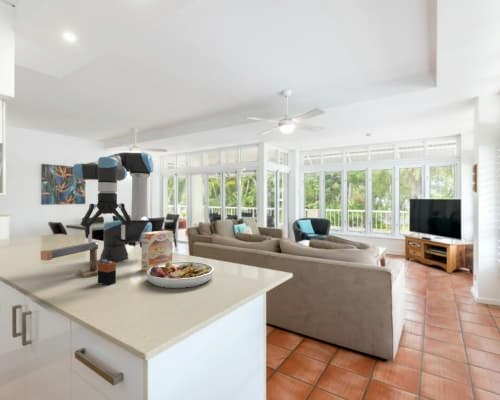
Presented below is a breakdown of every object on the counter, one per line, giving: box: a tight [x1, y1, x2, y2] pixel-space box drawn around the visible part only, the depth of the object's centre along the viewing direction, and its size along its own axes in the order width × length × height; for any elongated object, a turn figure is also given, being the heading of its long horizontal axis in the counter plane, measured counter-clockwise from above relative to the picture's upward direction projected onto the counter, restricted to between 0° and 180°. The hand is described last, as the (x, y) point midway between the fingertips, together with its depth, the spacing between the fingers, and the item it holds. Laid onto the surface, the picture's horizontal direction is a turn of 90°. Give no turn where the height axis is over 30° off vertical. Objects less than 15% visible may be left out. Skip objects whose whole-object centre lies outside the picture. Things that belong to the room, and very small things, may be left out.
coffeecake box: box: [140, 230, 174, 272], centre depth 148 cm, size 15×7×20 cm, turn 143°
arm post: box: [78, 249, 98, 279], centre depth 136 cm, size 10×10×12 cm
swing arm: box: [40, 241, 99, 261], centre depth 125 cm, size 4×26×4 cm, turn 164°
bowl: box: [146, 261, 215, 289], centre depth 129 cm, size 30×30×8 cm
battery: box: [97, 260, 117, 286], centre depth 122 cm, size 4×7×10 cm, turn 63°
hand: (107, 240), depth 122 cm, fingers open, 13 cm apart
